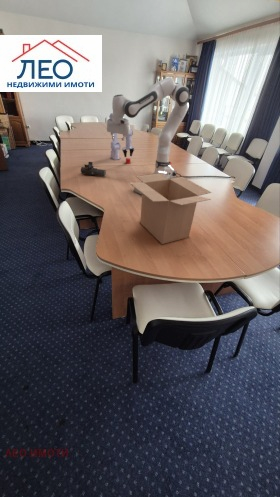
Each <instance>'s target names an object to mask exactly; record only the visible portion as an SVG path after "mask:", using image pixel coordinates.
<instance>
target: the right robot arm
mask: <svg viewBox="0 0 280 497" xmlns="http://www.w3.org/2000/svg"><path fill="white" fill-rule="evenodd" d="M167 97H169V98H170V99H171V100H172V101H174V102H175V103H174V106H173V108H172V110H171V112H170V114H169V116H168V117H167V119H166V120H165V123H164V124H163V125H164V126H163V128H162V129H161V131H160V132H159V135H158V140H157V141H158V142H157V150H156V159H155V165H154V171H153V174H160V173H161V174H163V175H164V176H166V177H167V178H168V179H172V178H177V175H178V176H179V177H184V178H225V179H231V178H233V179H236V176H221V175H192V176H191V175H188V176H186V175H181V173H178V171H177V170H175V169H174V168H173V167H172V166H171V165H172V164H173V162H172V161H169V158H170V152H171V142H172V140H173V139H174V136H175V135H176V133H177V130H178V129H179V127H180V125H181V123H182V122H183V120H184V118H185V116H186V114H187V112H188V110H189V107H190V104H189V99H190V91H189V89H188V88H187V87H186V86H185V85H183V84H181V83H179V82H175V80H174V78H172V77H171V76H169V77H165V78H163V79H161V80H159V81H157V82H155V83H154V84H153V85H151V86H150V88H149V90H148V92H147V93H146V94H145V95H144V96H142V97H141V98H139V99H137V100H133V101H132V100H130V99H128V98H127V97H126V96H124V94H116V95H114V96H113V97H112V102H111V106H112V107H111V109H112V113H113V114H112V119H110V118H108V119H106V132H107V133H110V136H111V139H115V136H114V135H113V134H114V133H117V135H122V138H121V141H123V142H124V141H125V139H126V137H125V136H126V135H129V134H130V129H131V125H130V120H129V119H128V118H130V119H133V118H136V117H137V116H138V114H139V113H140V112H141V111H142V110H144V109H145V108H146V107H148V106H150V105H151V104H153V103H157V102H160V101H161V100H164V99H165V98H167ZM125 115H126V117H127V118H126V117H125Z"/></svg>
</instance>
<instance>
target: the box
mask: <svg viewBox="0 0 280 497" xmlns="http://www.w3.org/2000/svg"><path fill="white" fill-rule="evenodd" d="M135 177H136V178H137V179H138V180H139V181H141V182H139V181H137V182H136V181H129V182H128V183H129V184H130V185H131V186H132V187H133V188H134V187H135V188H136V189H138V190H139V191H140V192H141V193H142V195H141V207H140V224H141V225H142V226H143V227H144V228H145V229H146V230H147V231H148V232H149V233H150V235H152V236H153V237H154V238H155V239H156V240H157V241H158V242H159V243H160V244H161V245H164V244H169V243H173V242H175V241H179V240H184V239H187V238H189V237H190V233H191V229H192V224H193V221H194V217H195V212H196V208H197V204H198V203H200V202H206V201H211V200H212V199H211V198H208V197H203V196H204V195H208V194H212V192H211V191H210V190H208V189H206V188H204V187H203V186H202V185H199V184H197V183H195V182H194V181H191V180H189V179H188V178H187V177H181V176H177V177H174V178H169V179H168V178H167V177H166V176H164V175H163V174H161V173H160V174H154V173H152V174H145V175H136V176H135Z"/></svg>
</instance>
